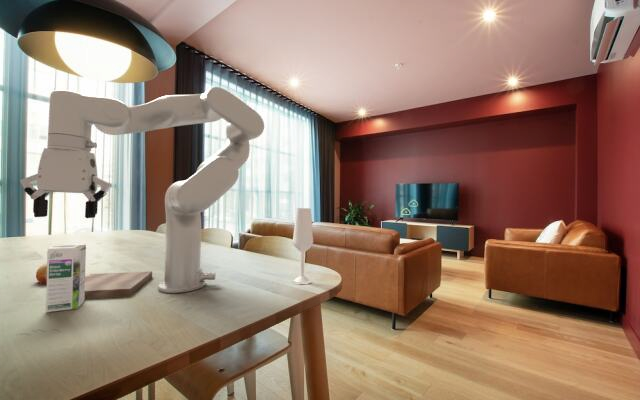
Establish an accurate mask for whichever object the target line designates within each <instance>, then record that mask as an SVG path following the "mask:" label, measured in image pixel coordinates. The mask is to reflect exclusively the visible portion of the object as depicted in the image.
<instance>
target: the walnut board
mask: <svg viewBox="0 0 640 400" xmlns="http://www.w3.org/2000/svg"><path fill="white" fill-rule="evenodd" d="M152 278H153V271H134V272H133V271H129V272H128V271H127V272H109V273H107V272H106V273H89V274H88V275H85V298H84V300H88V299H89V300H90V299H91V300H92V299H104V298H121V297H122V298H123V297H131V296H133V294H135V292H137V291H138V290H139V289H141V288H142V287H143V286H144V285H145V284H146V283H147V282H149V281H150V280H151V279H152Z"/></svg>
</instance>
